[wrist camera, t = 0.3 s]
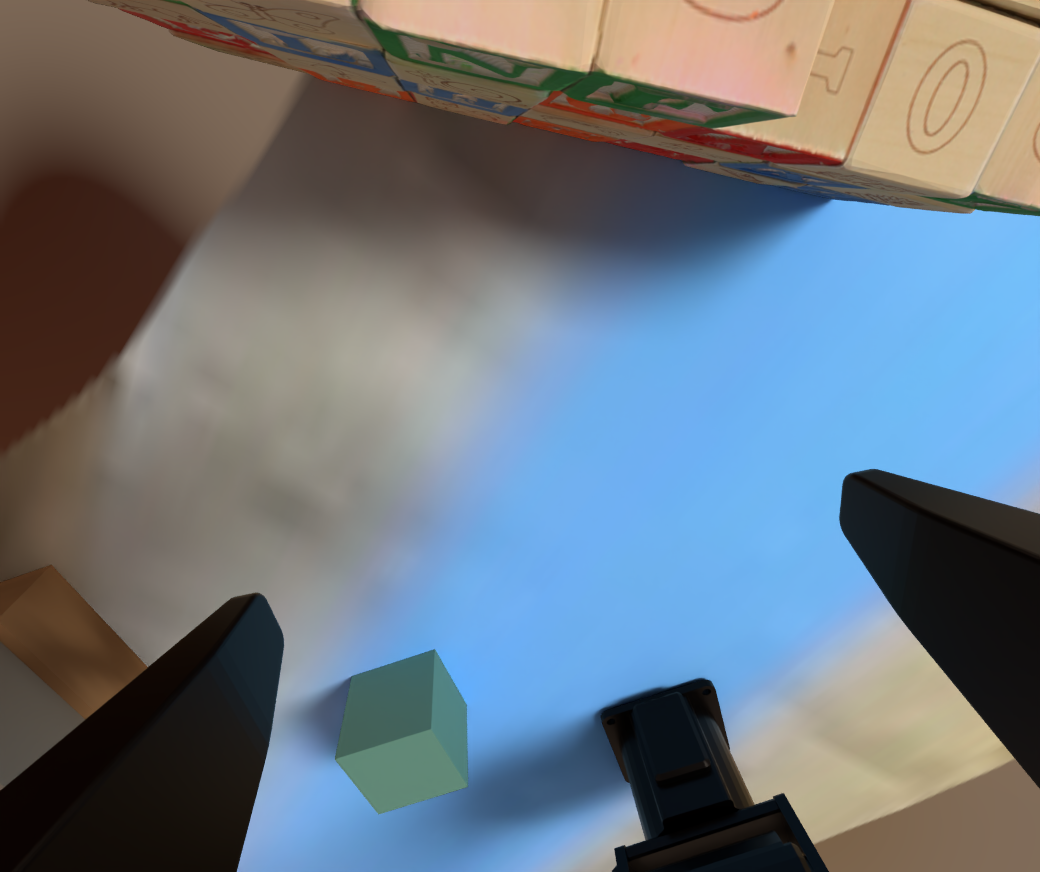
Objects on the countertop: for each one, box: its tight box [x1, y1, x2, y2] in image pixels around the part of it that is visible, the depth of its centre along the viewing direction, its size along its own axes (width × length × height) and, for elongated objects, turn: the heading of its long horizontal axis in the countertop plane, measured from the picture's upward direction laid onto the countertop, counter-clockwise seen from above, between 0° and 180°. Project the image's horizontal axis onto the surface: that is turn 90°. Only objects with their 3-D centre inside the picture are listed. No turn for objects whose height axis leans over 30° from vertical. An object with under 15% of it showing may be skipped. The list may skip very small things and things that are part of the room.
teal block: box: [335, 649, 468, 814], centre depth 27 cm, size 4×4×4 cm
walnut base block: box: [0, 565, 148, 719], centre depth 24 cm, size 7×7×4 cm
